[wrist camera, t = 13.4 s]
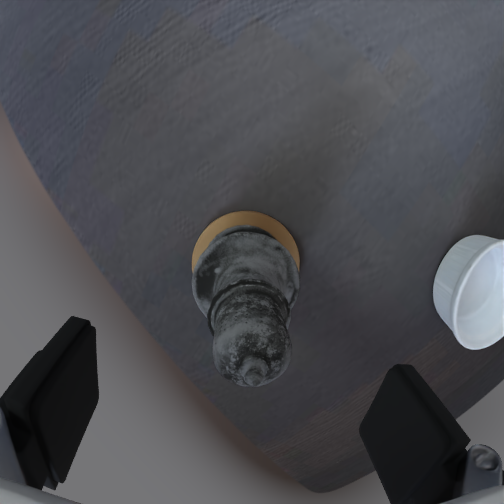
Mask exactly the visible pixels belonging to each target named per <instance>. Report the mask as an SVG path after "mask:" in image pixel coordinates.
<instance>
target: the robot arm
mask: <svg viewBox="0 0 504 504" xmlns="http://www.w3.org/2000/svg"><path fill="white" fill-rule="evenodd" d="M98 399H99V389H98V374H97V354H96V329H95V327H93V326H91V324H90V321H89V320H86V319H82V318H78V317H74V316H71V317H70V318H69V319H68V321H67V322H66V323H65V324H64V325H63V326H62V328H60V330H59V331H58V332H57V333H56V334H55V336H54V337H53V338H52V339H51V340H50V341H49V343H48V344H47V345H46V346H45V347H44V349H43V350H41V351H38V352H37V353H36V354H35V355H34V356H33V358H32V359H31V360H30V361H29V363H28V364H27V365H26V366H25V367H24V369H23V370H22V371H21V372H20V373H19V375H18V376H17V377H16V378H15V380H14V381H13V382H12V383H11V385H10V386H9V387H8V389H7V390H6V391H5V393H4V394H3V395H2V397H1V398H0V504H81V503H77V502H74V501H71V500H68V499H65V498H62V497H59V496H56V495H53V494H50V493H47V492H44V491H42V488H43V486H46V487H48V488H50V489H53V490H56V487H57V485H58V482H60V483H64V481H65V480H66V477H67V474H68V472H69V469H70V467H71V464H72V462H73V459H74V457H75V454H76V452H77V450H78V447H79V445H80V442H81V440H82V438H83V435H84V433H85V431H86V428H87V426H88V424H89V421H90V419H91V417H92V415H93V412H94V410H95V408H96V406H97V403H98ZM359 432H360V436H361V438H362V440H363V442H364V445H365V447H366V449H367V451H368V453H369V456H370V458H371V460H372V462H373V465H374V467H375V469H376V471H377V473H378V476H379V478H380V480H381V483H382V485H383V487H384V489H385V491H386V494H387V496H388V499H389V501H390V503H391V504H504V471H503V470H502V461H501V458H500V456H499V455H498V453H497V452H496V451H495V450H493V449H492V448H490V447H488V446H486V445H482V444H477V445H474V446H472V447H471V448H470V449H469V450H468V451H467V450H466V449H465V448H466V446H467V445H468V443H469V442H470V439H469V437H468V436H467V435H466V433H465V432H464V431H463V429H462V428H461V427H460V425H459V424H458V423H457V421H456V420H455V419H454V417H453V416H452V415H451V414H450V412H449V411H448V410H447V408H446V407H445V406H444V405H443V403H442V402H441V401H440V400H439V398H438V397H437V396H436V394H435V393H434V392H433V391H432V389H431V388H430V387H429V386H428V384H427V383H426V382H425V381H424V379H423V378H422V377H421V376H420V374H419V373H418V372H417V371H416V370H415V368H414V367H413V366H412V365H406V364H396V365H394V366H393V368H391V369H390V370H389V371H388V372H387V374H386V377H385V379H384V381H383V383H382V385H381V387H380V389H379V391H378V393H377V395H376V397H375V399H374V400H373V402H372V404H371V406H370V408H369V410H368V412H367V414H366V415H365V417H364V419H363V421H362V423H361V425H360V428H359Z"/></svg>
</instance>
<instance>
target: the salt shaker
mask: <svg viewBox="0 0 504 504" xmlns="http://www.w3.org/2000/svg"><path fill="white" fill-rule="evenodd" d="M192 289H193V296H194V298H195V300H196V303H197V305H198V307H199V309H200V310H201V311H202V313H203V314H204V315H205V316H206V318H207V320H208V326H209V329H210V331H211V333H212V335H213V336H214V339H213V348H212V354H213V361H214V364H215V366H216V368H217V370H218V372H219V373H220V374H221V375H222V376H223V377H224V378H225V379H227V380H229V381H230V382H232V383H235V384H237V385H240V386H246V387H256V386H261V385H265V384H268V383H270V382H271V381H273V380H275V379H277V378H278V377H279V376H280V375H281V374H283V373H284V371H285V370H286V368H287V367H288V366H289V363H290V360H291V355H292V344H291V341H290V337H289V334H288V331H287V329H288V326H289V323H290V320H291V309H292V307H293V305H294V304H295V302H296V300H297V296H298V293H299V289H300V275H299V271H298V268H297V264H296V262H295V260H294V259H293V257H292V255H291V254H290V252H289V251H288V250H287V249H286V248H285V247H284V246H283V245H282V244H281V243H280V242H278V241H277V239H276V238H275V237H273V236H272V235H271V234H270V233H269V232H267V231H265V230H263V229H261V228H259V227H256V226H251V225H236V226H233V227H230V228H227V229H225V230H224V231H222V232H221V233H219V234H217V235H216V236H215V238H214V239H213V240H212V241H211V242H210V243H209V245H208V247H207V249H206V250H205V251H204V252H203V253H202V254H201V255H200V257H199V259H198V261H197V263H196V265H195V267H194V271H193V277H192Z"/></svg>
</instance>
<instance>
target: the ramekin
mask: <svg viewBox="0 0 504 504" xmlns="http://www.w3.org/2000/svg"><path fill="white" fill-rule="evenodd" d="M433 300H434V305H435V308H436V310H437V312H438V314H439V315H440V317H441V318H442V320H443V321H444V322H445V323H446V324H447V325H448V326H449V328H450V329H451V330H452V331H453V333H454V335H455V337H456V339H457V340H458V341H459V343H460V344H461V345H463V346H464V347H465V348H468V349H472V350H477V349H482V348H485V347H488V346H490V345H492V344H494V343H495V342H497V341H498V340H500V339H501V338H502V337H503V336H504V240H498V239H494V238H491V237H487V236H483V235H472V236H468V237H465V238H463V239H461V240H460V241H459V242H457V243H456V244H455V245H454V246H453V247H452V248H451V249H450V250H449V251H448V253H447V254H446V255H445V257H444V258H443V260H442V262H441V264H440V266H439V268H438V270H437V273H436V276H435V280H434V286H433Z"/></svg>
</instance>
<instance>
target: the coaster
mask: <svg viewBox="0 0 504 504" xmlns="http://www.w3.org/2000/svg"><path fill="white" fill-rule="evenodd" d="M236 225H251V226H256V227H259V228H261V229H263V230H265V231H267V232H269V233H270V234H271V235H272V236H273V237H275V238H276V239H277V241H278V242H280V243H281V244H282V245H283V246H284V247H285V248H286V249H287V250H288V251H289V252H290V254H291V255H292V257H293V259H294V260H295V262H296V264H297V268H298V271H299V266H300V259H299V252H298V248H297V245H296V243H295V241H294V239H293V237H292V235H291V234H290V233H289V231H288V230H287V229H286V228H285V227H284V226H283V225H282V224H281V223H280V222H279V221H277V220H276V219H274V218H273V217H271V216H269V215H266V214H264V213H260V212H256V211H236V212H232V213H228V214H226V215H223V216H221V217H219V218H218V219H216V220H215V221H213V222H212V223H211V224H210V225H209V226H208V227H207V228H206V229H205V230H204V231H203V232H202V234H201V235H200V237H199V239H198V241H197V243H196V245H195V248H194V251H193V256H192V271H194V267H195V265H196V263H197V261H198V259H199V257H200V255H201V254H202V253H203V252H204V251H205V250H206V249H207V247H208V245H209V243H210V242H211V241H212V240H213V239H214V238H215V236H216V235H217V234H219V233H221V232H222V231H224V230H225V229H227V228H230V227H233V226H236Z"/></svg>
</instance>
